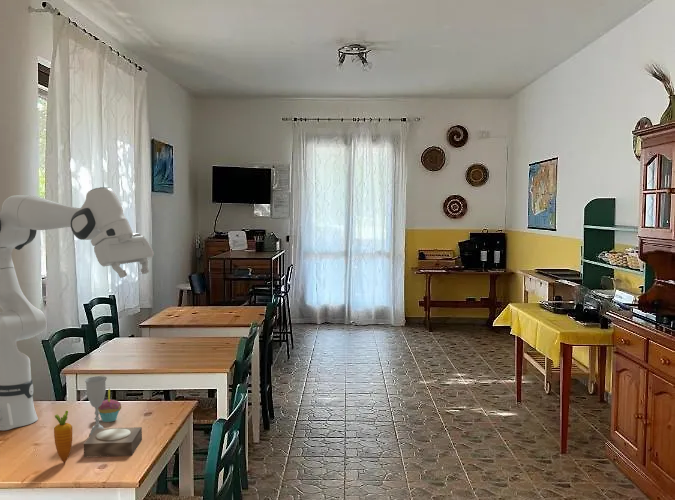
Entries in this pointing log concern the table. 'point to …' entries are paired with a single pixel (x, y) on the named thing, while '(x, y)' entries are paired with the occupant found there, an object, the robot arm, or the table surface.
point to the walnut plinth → (113, 442)
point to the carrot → (63, 437)
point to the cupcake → (109, 409)
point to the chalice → (96, 396)
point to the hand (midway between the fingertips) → (135, 275)
